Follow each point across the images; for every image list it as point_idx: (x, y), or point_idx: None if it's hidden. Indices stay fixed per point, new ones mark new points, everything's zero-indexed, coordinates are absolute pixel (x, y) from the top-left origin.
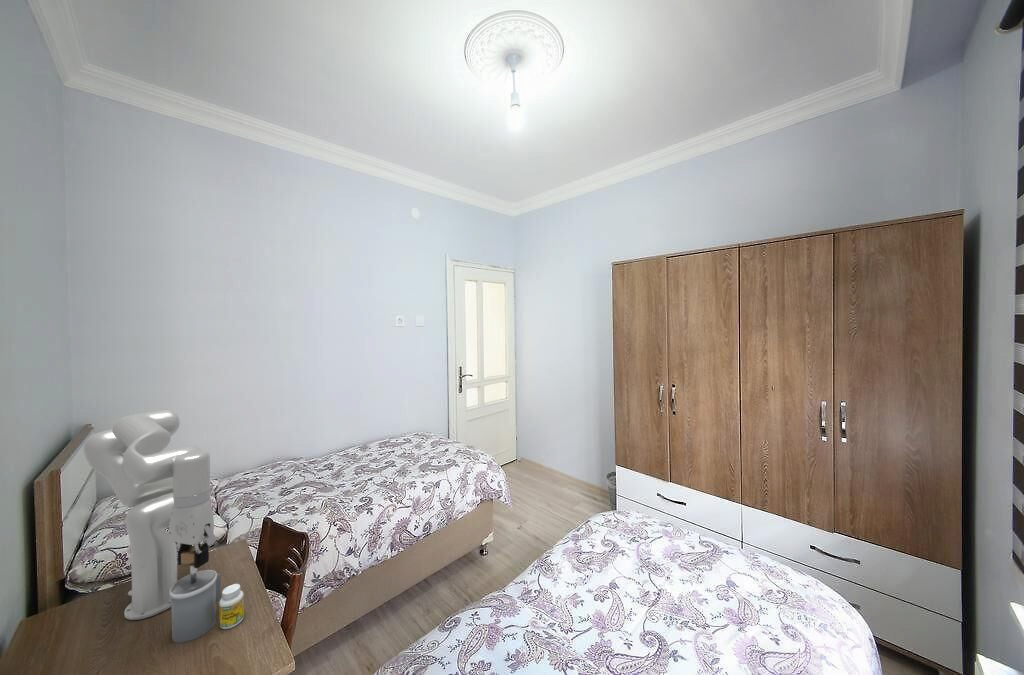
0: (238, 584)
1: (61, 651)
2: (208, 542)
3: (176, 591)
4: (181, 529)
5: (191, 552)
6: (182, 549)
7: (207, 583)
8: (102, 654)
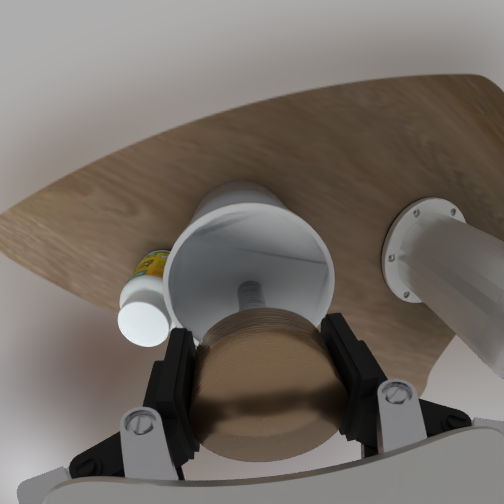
0: (143, 344)
1: (458, 106)
2: (48, 489)
3: (258, 224)
4: None
5: (242, 406)
6: (361, 397)
7: (176, 304)
8: (378, 109)
